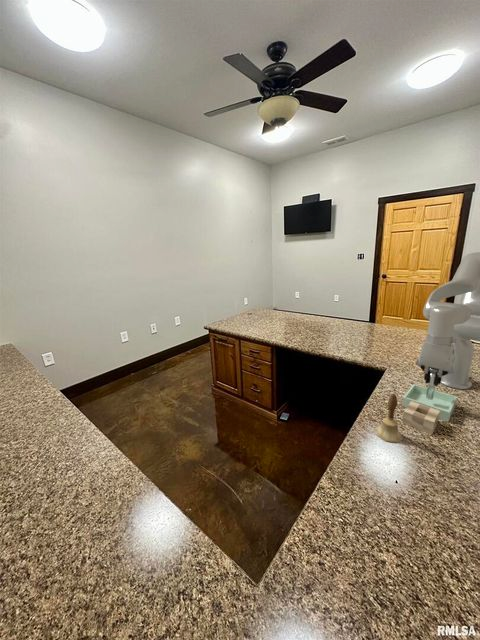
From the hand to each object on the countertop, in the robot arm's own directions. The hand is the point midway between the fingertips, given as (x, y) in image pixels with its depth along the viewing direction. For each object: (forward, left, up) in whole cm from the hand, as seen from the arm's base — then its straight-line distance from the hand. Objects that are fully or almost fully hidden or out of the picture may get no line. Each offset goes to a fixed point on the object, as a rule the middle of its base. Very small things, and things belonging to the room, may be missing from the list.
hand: (431, 383), depth 101 cm
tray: (0, 0, -10) cm, 10 cm away
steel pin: (0, 0, -7) cm, 7 cm away
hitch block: (+14, +1, -10) cm, 17 cm away
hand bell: (+28, -5, -11) cm, 30 cm away
